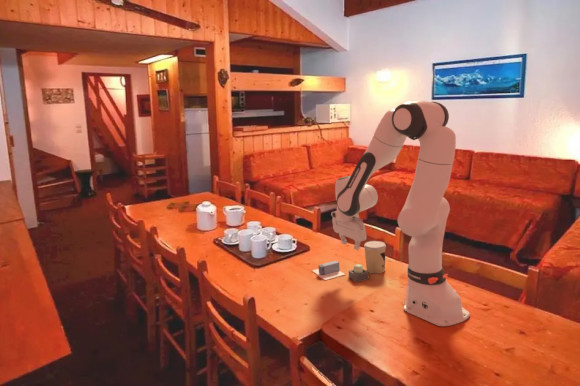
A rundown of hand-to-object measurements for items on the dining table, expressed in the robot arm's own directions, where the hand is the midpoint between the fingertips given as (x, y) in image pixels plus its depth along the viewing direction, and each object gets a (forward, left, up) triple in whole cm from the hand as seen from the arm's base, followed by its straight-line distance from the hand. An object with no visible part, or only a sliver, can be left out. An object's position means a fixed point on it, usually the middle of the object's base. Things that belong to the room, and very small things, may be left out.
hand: (350, 246), depth 169 cm
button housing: (-2, -2, -14) cm, 14 cm away
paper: (+10, +6, -14) cm, 18 cm away
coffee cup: (+1, -13, -14) cm, 19 cm away
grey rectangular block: (+10, +6, -14) cm, 18 cm away
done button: (-2, -2, -12) cm, 13 cm away
